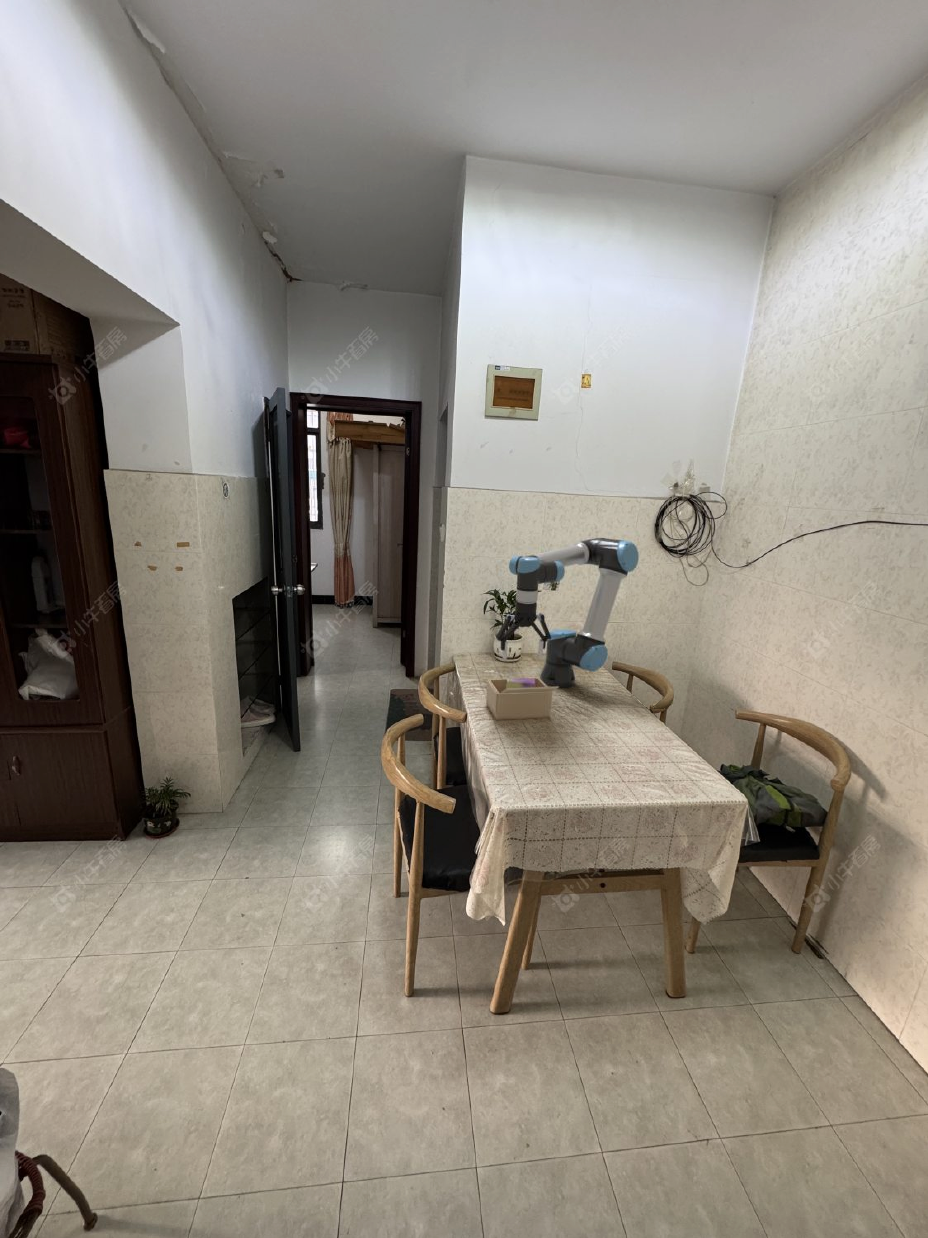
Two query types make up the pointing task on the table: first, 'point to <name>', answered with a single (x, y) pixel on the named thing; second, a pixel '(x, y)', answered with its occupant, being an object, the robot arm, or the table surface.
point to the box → (519, 682)
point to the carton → (517, 701)
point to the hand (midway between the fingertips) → (522, 658)
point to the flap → (529, 689)
